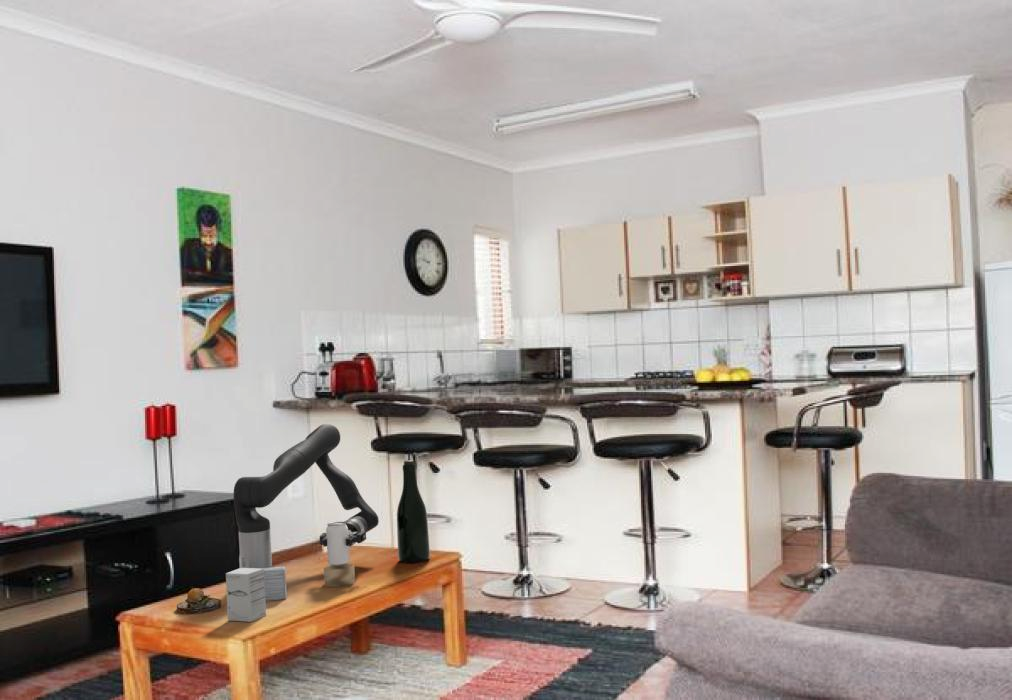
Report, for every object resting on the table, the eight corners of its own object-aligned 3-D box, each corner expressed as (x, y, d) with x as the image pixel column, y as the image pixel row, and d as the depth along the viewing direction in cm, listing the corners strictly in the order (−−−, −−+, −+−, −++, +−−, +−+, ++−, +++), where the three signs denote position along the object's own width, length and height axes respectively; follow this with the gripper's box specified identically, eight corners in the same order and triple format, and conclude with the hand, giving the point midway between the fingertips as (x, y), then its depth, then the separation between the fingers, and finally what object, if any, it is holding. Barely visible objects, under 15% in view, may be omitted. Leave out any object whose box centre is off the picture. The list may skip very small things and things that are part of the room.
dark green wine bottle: (406, 556, 324) (400, 458, 324) (435, 556, 321) (429, 458, 321) (393, 563, 314) (387, 462, 314) (422, 563, 311) (417, 462, 311)
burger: (229, 606, 267) (228, 580, 268) (193, 617, 258) (191, 589, 258) (204, 602, 275) (202, 576, 275) (167, 611, 265) (166, 584, 266)
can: (352, 560, 291) (349, 521, 291) (346, 565, 285) (344, 525, 285) (331, 561, 292) (329, 521, 292) (325, 566, 285) (323, 525, 285)
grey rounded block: (327, 589, 282) (327, 572, 282) (322, 583, 291) (321, 566, 291) (357, 585, 286) (357, 568, 286) (351, 579, 294) (350, 562, 294)
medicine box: (287, 596, 276) (285, 565, 276) (286, 599, 271) (284, 569, 271) (258, 598, 274) (257, 568, 275) (257, 602, 270) (256, 571, 270)
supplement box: (226, 621, 251) (224, 573, 251) (244, 613, 258) (241, 566, 258) (250, 622, 248) (248, 573, 248) (267, 615, 255) (264, 567, 255)
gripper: (327, 521, 303) (311, 531, 287) (371, 519, 302) (358, 529, 285) (328, 544, 303) (312, 556, 287) (372, 543, 302) (360, 554, 285)
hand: (335, 542), depth 286 cm, fingers closed on can, 6 cm apart
